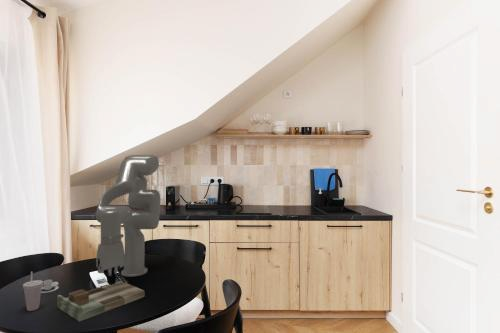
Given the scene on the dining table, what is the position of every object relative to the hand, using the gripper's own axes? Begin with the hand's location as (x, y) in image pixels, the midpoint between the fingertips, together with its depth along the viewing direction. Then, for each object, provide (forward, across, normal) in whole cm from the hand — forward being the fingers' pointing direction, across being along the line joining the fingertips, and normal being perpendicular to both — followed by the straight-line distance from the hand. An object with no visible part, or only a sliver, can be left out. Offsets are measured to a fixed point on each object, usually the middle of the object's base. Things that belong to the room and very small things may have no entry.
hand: (111, 283), depth 127 cm
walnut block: (+3, +13, +1) cm, 14 cm away
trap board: (+6, +4, +1) cm, 7 cm away
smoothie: (+6, +23, -14) cm, 28 cm away
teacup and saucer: (+7, +10, -28) cm, 31 cm away
